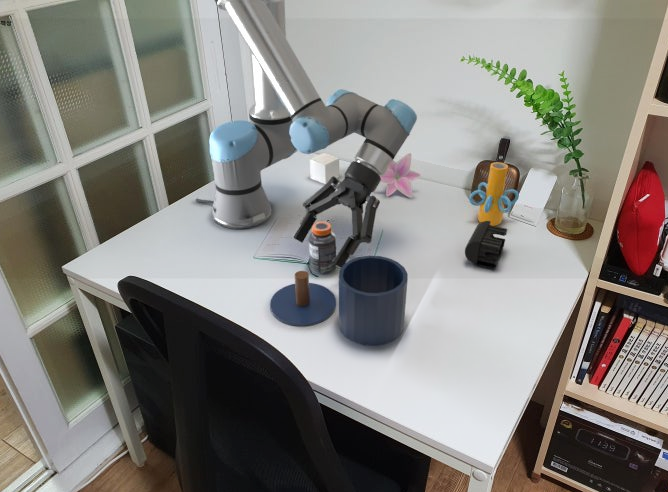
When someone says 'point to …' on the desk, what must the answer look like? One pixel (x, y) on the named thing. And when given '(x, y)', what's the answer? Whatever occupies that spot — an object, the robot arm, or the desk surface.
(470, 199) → the yellow tubular piece
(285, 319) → the lid
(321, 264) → the pill bottle
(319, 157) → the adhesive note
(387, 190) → the lily
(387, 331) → the canister
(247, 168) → the robot arm
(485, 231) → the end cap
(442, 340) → the desk surface
